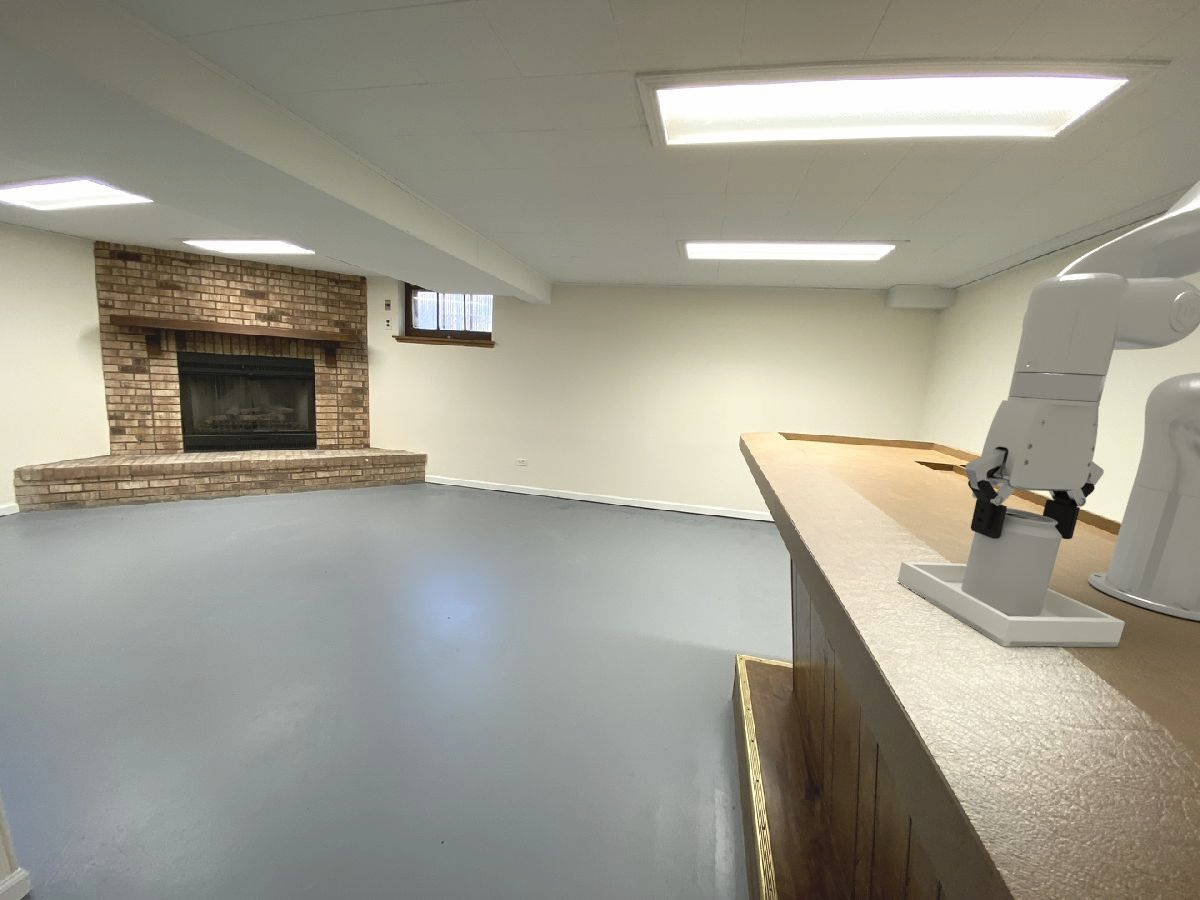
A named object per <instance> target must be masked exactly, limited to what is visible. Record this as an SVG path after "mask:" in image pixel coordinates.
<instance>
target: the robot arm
mask: <svg viewBox="0 0 1200 900" xmlns="http://www.w3.org/2000/svg"><path fill="white" fill-rule="evenodd" d="M1199 272H1200V179H1199V180H1198V181H1197V182H1196V183H1195V184H1194V185H1192V187H1191V188H1189V189H1188V191H1186V192H1185V194H1183V196H1182V197H1180V198H1179V199H1178V201H1176V202H1175V203H1173V205H1172V206H1171V207H1170V208H1169V209H1168V210H1167V211H1166V212H1165V213H1164V214H1162V215H1161V216H1159V217H1156V218H1155V219H1152V220H1151V221H1148V222H1146V223H1144V224H1142V225H1140V226H1137V227H1136V228H1134V229H1132V230H1130V231H1128V232H1127V233H1124V234H1123V235H1120V236H1118V237H1117V238H1114V239H1112V240H1111V241H1108V242H1107V243H1105V244H1103V245H1101V246H1098V247H1096V248H1095V249H1093V250H1091V251H1089V252H1087V253H1085V254H1083V255H1082V256H1081V257H1079V258H1077V259H1075V260H1074V261H1073V262H1071V263H1070V264H1068V265H1067V266H1066V267H1064V268H1063V269H1062V270H1061V271H1060V272H1058V273H1057V274H1056V275H1055V276H1052V277H1048V278H1046V279H1045V278H1044V279H1043V280H1040V281H1039V282H1038V283H1037V284H1036V285H1034V287H1033V289H1032V290H1031V292H1030V296H1029V299H1028V302H1027V303H1028V304H1027V308H1026V311H1025V313H1024V315H1023V319H1022V324H1021V325H1022V328H1021V329H1022V330H1021V331H1022V332H1021V336H1020V340H1019V345H1018V349H1017V354H1016V359H1015V364H1014V368H1013V374H1012V377H1011V383H1010V386H1009V392H1008V396H1007V400H1002V401H1001V403H1000V404H999V406H998V408H997V410H996V412H995V414H994V417H993V418H992V422H991V423H990V427H989V430H988V432H987V434H986V438H985V441H984V444H983V448H982V452H981V454H980V457H977V458H975V459H973V460H971V461H970V462H968V463H966V464H965V466H964V467H965V468H964V469H965V472H966V475H967V476H966V477H967V480H968V481H967V484H968V485H967V486H968V487H969V489H970V490H971V491H972V498H973V499H976V501H975V505H974V510H973V513H972V514H973V516H972V520H971V524H970V529H971V531H973V532H974V533H975V532H977V533H980V534H982V535H985V536H987V537H990V538H993V539H998V538H1000V536H1001V532H1002V528H1003V523H1004V519H1005V514H1006V510H1007V508H1008V506H1007V505H1004V504H1003V503H1004V502H1005V501H1006V500H1007V499H1008V498H1009V497H1010V496H1011V495H1013V493H1014V492H1015V491H1016V490H1019V491H1036V492H1037V491H1038V492H1039V491H1040V492H1041V491H1043V492H1046V491H1047V492H1049V495H1050V497H1051V498H1052V499H1046V501H1045V505H1044V508H1043V512H1042V515H1043V516H1046V517H1049V518H1052V519H1054V520H1056V521H1057V522H1058V524H1057V525H1055V528H1056V529H1057V530H1058V531H1059V533H1060V534H1061V535H1062V539H1063V540H1071V539H1072V538H1073V536H1074V532H1075V529H1076V525H1077V521H1078V516H1079V513H1080V509H1081V508H1082V507H1084V506H1085V505H1086V504H1087V499H1086V498H1088V496H1090V495H1091V494H1092V493H1093V492H1094V491H1095V488H1096V487H1095V485H1097V483H1098V482H1099V480H1100V479H1101V478H1102V476H1103V475H1104V473H1105V469H1103V468H1102V467H1100V466H1099V464H1097V463H1095V461H1093V459H1094V457H1095V450H1096V443H1097V436H1098V428H1099V407H1100V404H1101V400H1102V395H1103V391H1104V388H1105V383H1106V380H1107V376H1108V373H1109V369H1110V366H1111V365H1110V364H1111V360H1112V356H1113V352H1114V351H1115V350H1119V351H1120V350H1125V351H1126V350H1127V351H1128V350H1129V351H1130V350H1131V351H1133V350H1134V351H1135V350H1149V349H1151V350H1152V349H1157V348H1164V347H1167V346H1170V345H1173V344H1175V343H1177V342H1180V341H1182V340H1184V339H1185V338H1186V337H1187V338H1188V336H1190V335H1191V334H1193V332H1194V331H1195V330H1196V329H1197V328H1198V326H1200V289H1199V288H1198V287H1197V286H1196V285H1194V284H1193V283H1191V282H1189V281H1186V280H1184V279H1181V278H1184V277H1187V276H1190V275H1193V274H1196V273H1199ZM1144 408H1145V409H1144V431H1143V432H1144V433H1143V444H1142V450H1141V455H1140V459H1139V463H1138V467H1137V471H1136V474H1135V477H1134V481H1133V484H1132V487H1131V490H1130V494H1129V497H1128V501H1127V504H1126V507H1125V509H1124V510H1125V511H1124V514H1123V517H1122V520H1121V524H1120V528H1119V531H1118V534H1117V538H1116V542H1115V545H1114V548H1113V550H1112V551H1113V552H1112V555H1111V559H1110V562H1109V565H1108V567H1107V572H1100V571H1099V572H1092V573H1090V574H1089V576H1088V583H1089V584H1090V585H1091V586H1092V587H1094V588H1095V589H1097V590H1098V591H1101V592H1103V593H1105V594H1107V595H1109V596H1112V597H1113V598H1116V599H1119V600H1121V601H1125V602H1126V603H1129V604H1133V605H1135V606H1138V607H1142V608H1143V609H1148V610H1151V611H1154V612H1158V613H1161V614H1162V613H1163V614H1165V615H1170V616H1173V617H1178V618H1182V619H1186V620H1192V621H1198V622H1200V372H1191V373H1185V374H1184V373H1183V374H1180V375H1176V376H1173V377H1169V378H1166V379H1165V380H1163V381H1162V382H1160V383H1158V384H1157V385H1156V386H1155V387H1153V389H1152V390H1151V391H1150V393H1149V395H1148V397H1147V400H1146V403H1145V407H1144ZM995 487H999V488H998V489H997V490H995Z"/></svg>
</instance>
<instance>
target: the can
mask: <svg viewBox="0 0 1200 900" xmlns="http://www.w3.org/2000/svg"><path fill="white" fill-rule="evenodd" d="M1057 524H1058V522H1057V521H1056V520H1054V519H1052V518H1049V517H1046V516H1043V514H1039V513H1035V512H1031V511H1026V510H1022V509H1017V508H1012V507H1011V508H1010V507H1007V510H1006V514H1005V519H1004V523H1003V528H1002V532H1001V536H1000V538H998V539H993V538H990V537H987V536H985V535H982V534H980V533H977V532H974V533H973V537H972V542H971V546H970V550H969V554H968V558H967V563H966V564H967V566H966V570H965V574H964V578H963V582H962V587H961V590H962V592H964V593H966V594H968V595H970V596H972V597H974V598H976V599H977V600H979V601H981V602H983V603H985V604H987V605H989V606H990V607H992V608H994V609H996V610H998V611H1000V612H1002V613H1004V614H1005V615H1007V616H1021V617H1033V616H1037V615H1040V613H1041V611H1042V607H1043V603H1044V600H1045V596H1046V593H1047V589H1048V588H1049V584H1050V581H1051V578H1052V574H1053V570H1054V567H1055V563H1056V560H1057V558H1058V557H1057V556H1058V553H1059V549H1060V545H1061V542H1062V539H1063V538H1062V535H1061V534H1060V533H1059V531H1058V530H1057V529H1056V528H1055V525H1057Z"/></svg>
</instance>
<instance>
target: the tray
mask: <svg viewBox="0 0 1200 900" xmlns="http://www.w3.org/2000/svg"><path fill="white" fill-rule="evenodd" d="M900 563H901V565H900V569H899V572H898V577H897V581H899V582H900V583H902V584H903V585H905V586H906V587H908V588H909V589H911V590H913V591H914V592H916V593H917V594H918V595H917V594H916V593H915V594H916V595H917V596H919V595H920V596H919V597H921V596H922V597H924V598H925V599H924V598H923V599H924V600H926V601H927V602H929V603H931V604H932V605H934V606H935V607H937V608H938V609H940V610H942V611H944V612H946V613H947V614H949V615H950V616H952V617H954V618H955V619H957V620H958V621H960V622H961V623H963V624H965V625H967V626H968V625H969V626H968V627H970V626H971V627H970V628H972V629H973V628H974V629H973V630H975V629H976V630H975V631H977V630H978V631H979V632H978V631H977V632H978V633H980V634H981V633H982V635H984V636H985V637H986V638H988V639H990V640H991V641H992V642H993V641H994V642H995V643H997V644H998V645H1000V646H1001V647H1003V648H1004V647H1007V648H1008V647H1011V648H1013V647H1022V648H1023V647H1025V646H1058V647H1057V648H1059V647H1060V648H1118V647H1119V644H1120V640H1121V637H1122V633H1123V631H1124V627H1125V625H1126V621H1124V620H1122V619H1119V618H1117V617H1114V616H1113V615H1110V614H1108V613H1105V612H1103V611H1102V610H1099V609H1096V608H1095V607H1092V606H1090V605H1087V604H1085V603H1083V602H1081V601H1078V600H1076V599H1074V598H1072V597H1069V596H1067V595H1064V594H1062V593H1060V592H1058V591H1056V590H1053V589H1051V588H1049V587H1048V589H1047V593H1046V596H1045V600H1044V603H1043V607H1042V611H1041V613H1040V615H1037V616H1033V617H1021V616H1007V615H1005V614H1004V613H1002V612H1000V611H998V610H996V609H994V608H992V607H990V606H989V605H987V604H985V603H983V602H981V601H979V600H977V599H976V598H974V597H972V596H970V595H968V594H966V593H964V592H962V590H961V587H962V582H963V578H964V574H965V570H966V566H967V563H954V562H953V563H952V562H925V561H924V562H923V561H922V562H921V561H901V562H900ZM906 587H905V588H906ZM909 589H908V590H909ZM911 590H910V591H911ZM914 592H913V593H914ZM922 597H921V598H922Z"/></svg>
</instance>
